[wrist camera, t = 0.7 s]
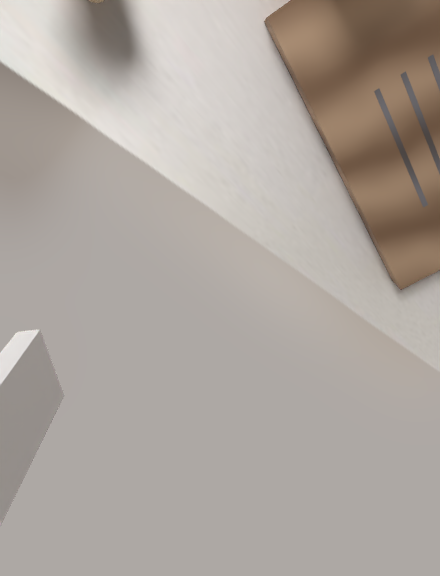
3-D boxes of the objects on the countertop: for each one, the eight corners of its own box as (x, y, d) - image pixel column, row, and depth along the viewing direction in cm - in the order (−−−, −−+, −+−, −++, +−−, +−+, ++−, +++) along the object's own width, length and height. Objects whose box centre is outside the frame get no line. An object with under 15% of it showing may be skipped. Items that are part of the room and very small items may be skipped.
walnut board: (264, 21, 30) (266, 17, 28) (440, -105, 27) (456, -119, 25) (392, 280, 39) (400, 290, 37) (535, 206, 36) (552, 213, 34)
